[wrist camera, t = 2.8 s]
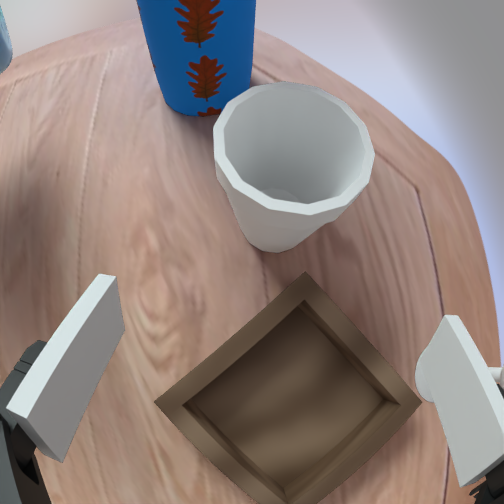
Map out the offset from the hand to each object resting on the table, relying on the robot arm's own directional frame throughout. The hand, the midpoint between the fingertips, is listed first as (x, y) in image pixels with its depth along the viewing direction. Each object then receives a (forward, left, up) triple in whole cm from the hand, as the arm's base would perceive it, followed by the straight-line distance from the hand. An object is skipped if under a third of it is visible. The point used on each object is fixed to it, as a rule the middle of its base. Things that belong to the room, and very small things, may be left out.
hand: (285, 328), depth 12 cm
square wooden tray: (+6, -2, -16) cm, 17 cm away
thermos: (-25, +14, -16) cm, 33 cm away
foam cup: (-7, +8, -16) cm, 19 cm away
